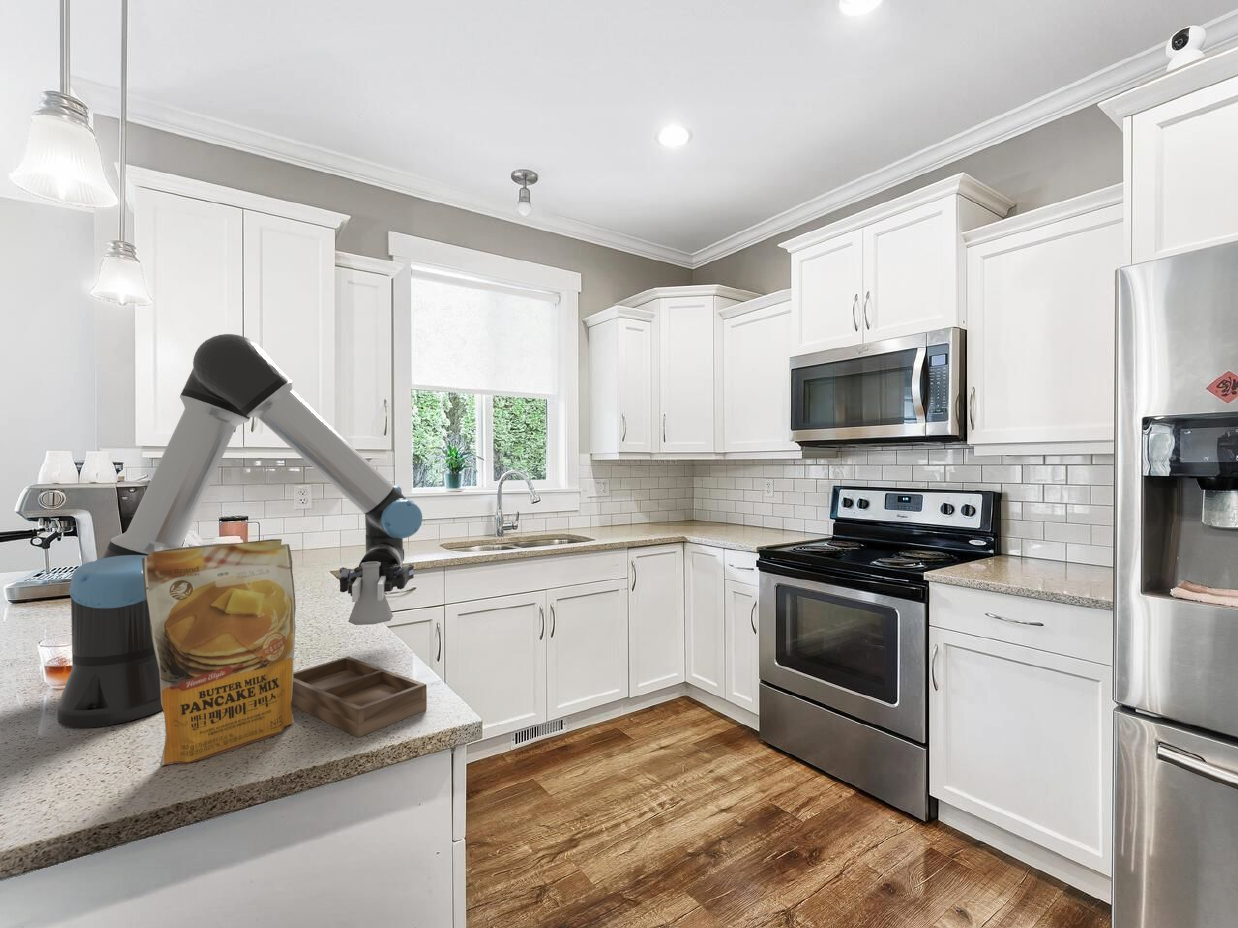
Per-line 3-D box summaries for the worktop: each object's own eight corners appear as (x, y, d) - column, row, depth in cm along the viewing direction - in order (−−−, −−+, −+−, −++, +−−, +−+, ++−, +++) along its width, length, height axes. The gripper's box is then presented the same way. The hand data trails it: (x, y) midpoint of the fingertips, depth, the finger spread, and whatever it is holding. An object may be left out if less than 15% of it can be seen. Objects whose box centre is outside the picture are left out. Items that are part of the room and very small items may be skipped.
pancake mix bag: (138, 760, 80) (135, 549, 80) (291, 712, 95) (289, 534, 94) (151, 777, 76) (148, 555, 75) (309, 725, 90) (307, 538, 90)
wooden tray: (426, 709, 96) (426, 684, 96) (358, 737, 86) (358, 709, 86) (348, 678, 109) (348, 656, 109) (281, 699, 99) (281, 675, 99)
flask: (350, 628, 100) (350, 568, 99) (346, 618, 106) (345, 561, 106) (396, 622, 103) (396, 564, 103) (389, 612, 109) (389, 557, 109)
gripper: (423, 582, 124) (419, 612, 101) (336, 587, 119) (312, 619, 97) (422, 546, 124) (419, 567, 101) (336, 549, 119) (312, 572, 97)
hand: (367, 592), depth 99 cm, fingers closed on flask, 3 cm apart
